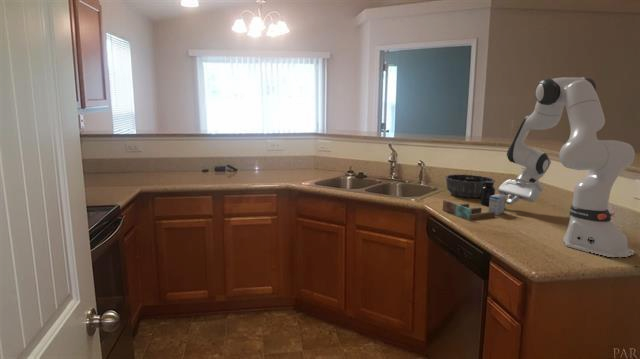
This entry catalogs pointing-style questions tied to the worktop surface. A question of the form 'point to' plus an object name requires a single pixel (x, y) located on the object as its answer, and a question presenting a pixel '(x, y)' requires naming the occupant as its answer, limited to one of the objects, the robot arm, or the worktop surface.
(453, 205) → the slot comb
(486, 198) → the supplement bottle
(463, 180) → the bundt pan
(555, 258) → the worktop surface
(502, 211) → the medicine box
